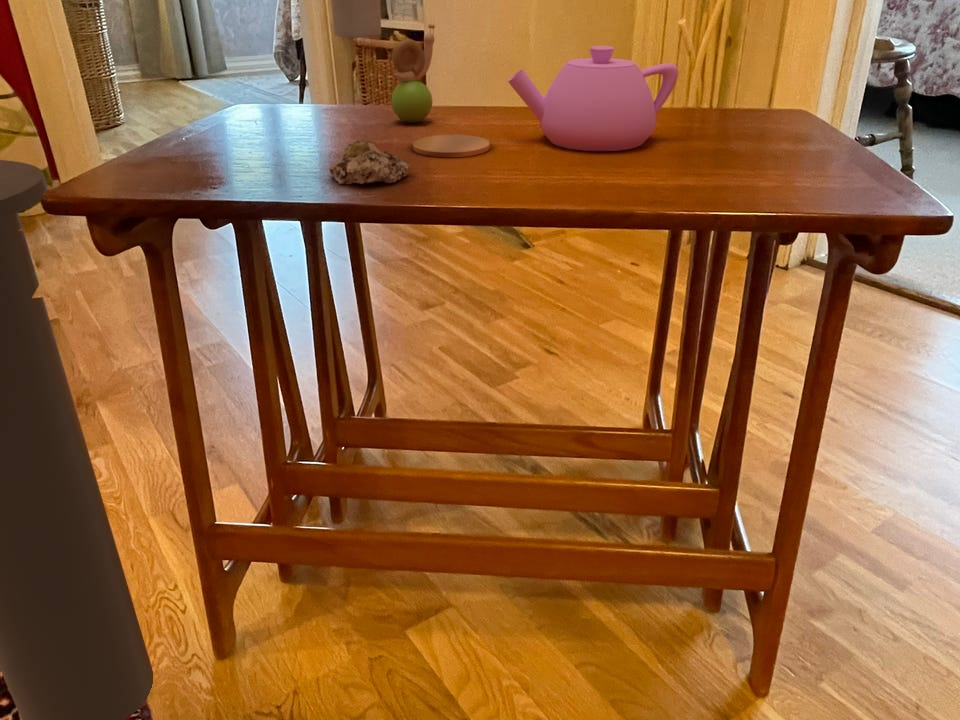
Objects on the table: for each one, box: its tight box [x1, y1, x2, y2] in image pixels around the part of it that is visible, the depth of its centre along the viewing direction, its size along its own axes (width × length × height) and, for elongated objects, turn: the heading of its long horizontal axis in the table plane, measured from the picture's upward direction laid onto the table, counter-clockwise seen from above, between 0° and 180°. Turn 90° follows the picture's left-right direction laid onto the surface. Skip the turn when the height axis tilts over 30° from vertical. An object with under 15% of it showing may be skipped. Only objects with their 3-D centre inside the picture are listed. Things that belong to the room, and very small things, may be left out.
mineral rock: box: [328, 139, 411, 185], centre depth 81 cm, size 11×4×8 cm
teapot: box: [507, 45, 680, 152], centre depth 93 cm, size 14×20×11 cm
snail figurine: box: [390, 23, 436, 124], centre depth 102 cm, size 5×6×12 cm
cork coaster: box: [412, 134, 491, 158], centre depth 92 cm, size 9×9×1 cm
